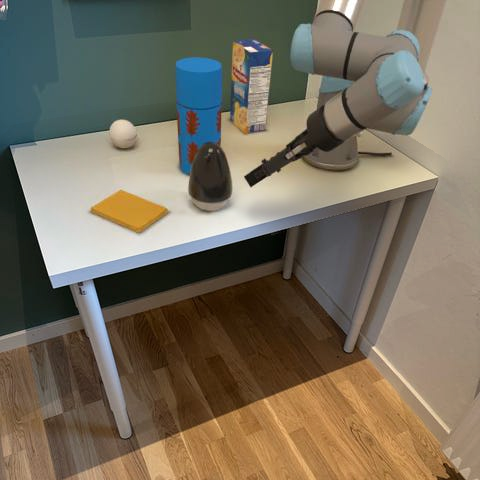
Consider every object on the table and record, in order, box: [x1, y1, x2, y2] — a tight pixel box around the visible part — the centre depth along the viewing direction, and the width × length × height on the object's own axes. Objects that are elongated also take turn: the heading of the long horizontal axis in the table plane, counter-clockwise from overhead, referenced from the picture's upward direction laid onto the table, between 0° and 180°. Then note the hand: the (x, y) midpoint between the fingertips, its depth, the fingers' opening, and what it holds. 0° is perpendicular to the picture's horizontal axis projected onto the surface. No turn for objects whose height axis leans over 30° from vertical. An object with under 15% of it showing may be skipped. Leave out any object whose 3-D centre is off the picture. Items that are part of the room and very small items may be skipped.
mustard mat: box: [90, 189, 169, 234], centre depth 107 cm, size 14×10×1 cm
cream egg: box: [108, 119, 138, 149], centre depth 128 cm, size 10×7×7 cm
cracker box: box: [229, 38, 274, 135], centre depth 137 cm, size 7×11×22 cm, turn 26°
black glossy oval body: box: [187, 142, 233, 212], centre depth 106 cm, size 10×10×15 cm
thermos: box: [174, 56, 223, 177], centre depth 115 cm, size 11×11×25 cm
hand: (249, 180), depth 101 cm, fingers closed
